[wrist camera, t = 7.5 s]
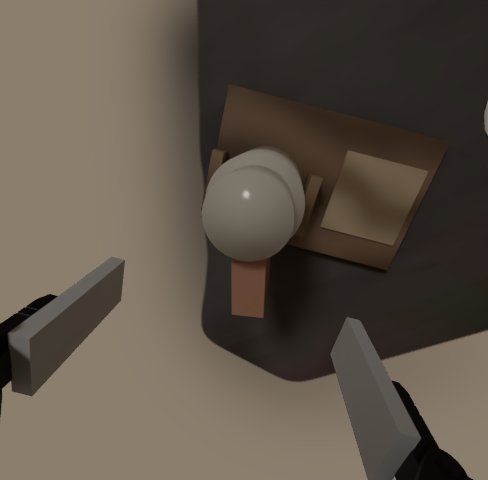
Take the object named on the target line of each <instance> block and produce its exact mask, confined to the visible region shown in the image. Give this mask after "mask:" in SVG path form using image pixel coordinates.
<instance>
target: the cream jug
mask: <svg viewBox="0 0 488 480" xmlns="http://www.w3.org/2000/svg"><path fill="white" fill-rule="evenodd" d="M304 211H305V196H304V191H303V186H302V181H301V176H300V171H299V168H298V166H297V164H296V162H295V161H294V159H293V158H292V157H291V156H290V155H289V154H288V153H287V152H285V151H284V150H282V149H279V148H277V147H273V146H260V147H256V148H253V149H251V150H249V151H247V152H245V153H242V154H240V155H238V156H236V157H234V158H232V159H230V160H228V161H227V162H225V163H224V164H222V165H221V166H220V167H219V168H218V169H217V170H216V172H215V173H214V174H213V176H212V178H211V179H210V182H209V184H208V187H207V190H206V196H205V200H204V203H203V207H202V223H203V227H204V230H205V232H206V234H207V236H208V238H209V240H210V241H211V243H212V244H213V245H214V246H215V247H216V248H217V249H218V250H219V251H221V252H222V253H223V254H225V255H227V256H229V257H231V258H233V261H232V263H231V266H232V315H241V316H250V317H259V318H263V317H264V310H265V303H266V297H267V290H268V284H269V275H270V257H271V256H273V255H275V254H276V253H278V252H279V251H280V250H281V249H282V248H283V247H284V246H285V245H286V243H287V242H288V240H289V239H290V238H291V237H292V236H293V235H294V234H295V233H296V231H297V230H298V228H299V226H300V224H301V222H302V219H303V216H304Z"/></svg>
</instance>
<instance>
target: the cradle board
mask: <svg viewBox="0 0 488 480" xmlns="http://www.w3.org/2000/svg"><path fill="white" fill-rule="evenodd" d="M449 144H450V142H449V141H445V140H441V139H438V138H434V137H430V136H426V135H422V134H418V133H415V132H411V131H407V130H403V129H399V128H395V127H392V126H388V125H384V124H380V123H376V122H373V121H369V120H365V119H361V118H357V117H353V116H350V115H346V114H342V113H338V112H334V111H330V110H327V109H323V108H319V107H315V106H311V105H308V104H304V103H300V102H296V101H292V100H288V99H285V98H281V97H277V96H273V95H269V94H265V93H262V92H258V91H254V90H250V89H246V88H243V87H239V86H235V85H231V84H229V88H228V93H227V98H226V103H225V108H224V113H223V118H222V124H221V129H220V134H219V139H218V144H217V149H214V150H212V155H211V160H210V165H209V171H208V176H207V181H206V186H205V192H204V197H203V202H202V207H203V203H204V200H205V196H206V190H207V187H208V184H209V182H210V179H211V178H212V176H213V174H214V173H215V172H216V170H217V169H218V168H219V167H220V166H221V165H222V164H224V163H225V162H227V161H228V160H230V159H232V158H234V157H236V156H238V155H240V154H242V153H245V152H247V151H249V150H251V149H253V148H256V147H260V146H273V147H277V148H279V149H282V150H284V151H285V152H287V153H288V154H289V155H290V156H291V157H292V158H293V159H294V161H295V162H296V164H297V166H298V168H299V171H300V176H301V181H302V186H303V191H304V196H305V211H304V216H303V219H302V222H301V224H300V226H299V228H298V230H297V231H296V233H295V234H294V235H293V236H292V237H291V238H290V239H289V240H288V242H287V243H286V244H288V245H292V246H296V247H299V248H303V249H307V250H311V251H315V252H319V253H323V254H326V255H330V256H334V257H338V258H342V259H346V260H350V261H353V262H357V263H361V264H365V265H369V266H373V267H376V268H380V269H384V270H388V269H389V266H390V264H391V262H392V260H393V258H394V256H395V254H396V252H397V250H398V248H399V246H400V244H401V242H402V240H403V238H404V236H405V234H406V232H407V230H408V228H409V226H410V224H411V222H412V220H413V218H414V216H415V214H416V211H417V209H418V207H419V205H420V203H421V201H422V199H423V197H424V195H425V193H426V191H427V189H428V187H429V185H430V183H431V181H432V179H433V177H434V175H435V173H436V171H437V169H438V167H439V165H440V163H441V161H442V159H443V156H444V154H445V152H446V150H447V148H448V146H449ZM202 207H201V210H202Z"/></svg>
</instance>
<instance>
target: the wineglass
mask: <svg viewBox="0 0 488 480" xmlns="http://www.w3.org/2000/svg"><path fill="white" fill-rule="evenodd" d="M484 120H485V131H486V133H487V135H488V102H487V106H486V109H485V113H484Z"/></svg>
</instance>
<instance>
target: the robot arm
mask: <svg viewBox="0 0 488 480" xmlns="http://www.w3.org/2000/svg"><path fill="white" fill-rule="evenodd" d="M124 263H125V260H122V259H118V258H114V257H111V258H109V259H108V260H107V261H105V262H104V263H103V264H101V265H100V266H99V267H97V268H96V269H94V270H93V271H92V272H90V273H89V274H88V275H86V276H85V277H84V278H82V279H81V280H80V281H78V282H77V283H76V284H74V285H73V286H72V287H70V288H69V289H67V290H66V291H65V292H63V293H62V294H61V295H59V296H55V295H51V294H49V295H46V296H44V297H41V298H38V299H36V300H35V301H33V302H32V303H30V304H29V305H27V307H26V308H23V309H21V310H20V311H19V312H18V313H16V314H14V315H13V316H11V317H10V318H8V319H7V320H5V321H4V322H2V323H1V324H0V415H1V403H2V388H3V387H4V386H5V385H6V384H8V383H9V382H10V381H12V382H11V383H12V391H13V392H17V393H21V394H25V395H29V396H33V395H34V394H35V393H36V391H37V390H38V389H39V388H40V387H41V386H42V385H43V384H44V383H45V382H46V381H47V379H48V378H49V377H50V376H51V375H52V374H53V373H54V372H55V371H56V370H57V369H58V368H59V367H60V366H61V364H62V363H63V362H64V361H65V360H66V359H67V358H68V357H69V356H70V355H71V354H72V352H73V351H74V350H75V349H76V348H77V347H78V346H79V345H80V344H81V343H82V342H83V341H84V339H85V338H86V337H87V336H88V335H89V334H90V333H91V332H92V331H93V330H94V329H95V328H96V327H97V326H98V325H99V323H100V322H101V321H102V320H103V319H104V318H105V317H106V316H107V315H108V314H109V313H110V312H111V310H112V309H113V308H114V307H115V306H116V305H117V304H118V303H119V302H120V301H121V293H122V284H123V274H124ZM331 358H332V361H333V364H334V368H335V371H336V374H337V377H338V381H339V384H340V388H341V391H342V394H343V398H344V401H345V405H346V408H347V411H348V414H349V418H350V421H351V425H352V427H353V431H354V435H355V438H356V441H357V444H358V448H359V451H360V455H361V458H362V461H363V465H364V468H365V471H366V475H367V478H368V480H392V479H393V478H394V477H395V478H396V480H473V479H471V478H469V477H468V476H467V474H466V472H465V470H464V469H463V468H462V467H461V465H460V464H459V463H458V462H457V461H456V460H455V459H454V458H453V457H452V456H451V455H449V454H448V453H446V452H445V451H443V450H441V449H439V447H438V445H437V443H436V442H435V440H434V438H433V436H432V435H431V433H430V431H429V429H428V427H427V425H426V424H425V422H424V420H423V418H422V417H421V415H419V411H418V410H417V408H416V406H414V402H413V401H412V399H411V397H410V395H409V394H408V392H407V391H406V390H405V389H404V388H403V387H402V386H401V385H400V383H398V382H395V381H391V379H390V378H389V376H388V373H387V372H386V370H385V368H384V366H383V364H382V362H381V360H380V358H379V356H378V354H377V352H376V350H375V349H374V347H373V345H372V343H371V341H370V339H369V337H368V335H367V333H366V331H365V329H364V327H363V325H362V324H361V322H360V320H356V319H352V318H348V317H347V318H346V320H345V323H344V325H343V327H342V329H341V332H340V334H339V336H338V338H337V340H336V343H335V345H334V347H333V349H332V351H331Z"/></svg>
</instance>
